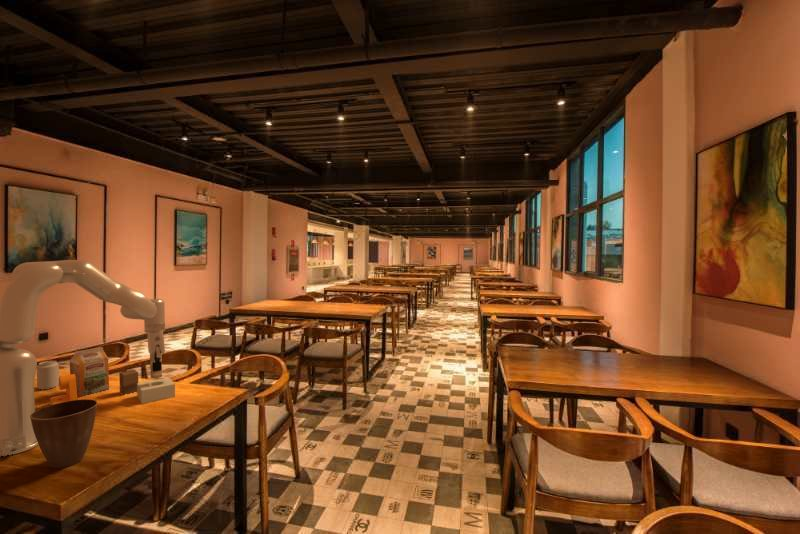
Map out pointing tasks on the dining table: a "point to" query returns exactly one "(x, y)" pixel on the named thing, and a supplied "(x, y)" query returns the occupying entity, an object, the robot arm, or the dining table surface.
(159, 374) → the birch dowel
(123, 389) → the walnut square bit
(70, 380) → the bracket
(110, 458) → the dining table surface
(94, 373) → the milk carton
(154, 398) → the bore block
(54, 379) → the can
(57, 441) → the plant pot
